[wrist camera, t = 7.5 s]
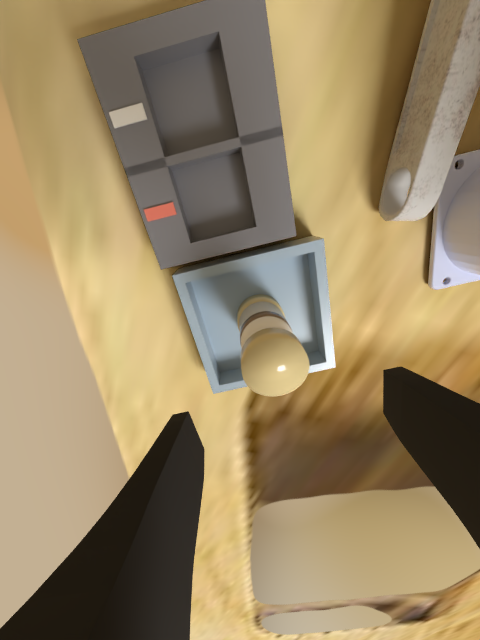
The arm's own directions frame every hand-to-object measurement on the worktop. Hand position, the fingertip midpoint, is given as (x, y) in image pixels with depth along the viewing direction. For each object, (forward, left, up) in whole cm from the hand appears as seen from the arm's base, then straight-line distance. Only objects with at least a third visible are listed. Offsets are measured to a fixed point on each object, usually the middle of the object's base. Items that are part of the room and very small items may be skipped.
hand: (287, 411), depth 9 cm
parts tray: (0, 0, -10) cm, 10 cm away
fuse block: (+1, -10, -10) cm, 14 cm away
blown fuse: (0, 0, -9) cm, 9 cm away
